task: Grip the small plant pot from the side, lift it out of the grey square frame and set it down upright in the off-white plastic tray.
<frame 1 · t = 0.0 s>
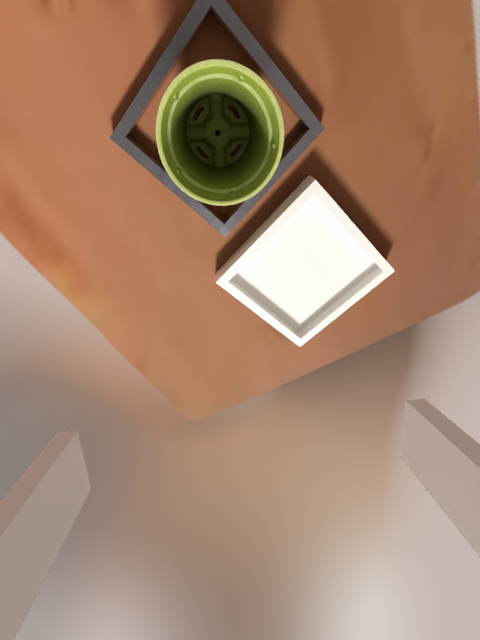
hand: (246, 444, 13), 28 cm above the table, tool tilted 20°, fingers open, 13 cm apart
tray: (301, 267, 40), on the table
grey square frame: (218, 131, 31), on the table
plant pot: (218, 131, 31), resting in grey square frame
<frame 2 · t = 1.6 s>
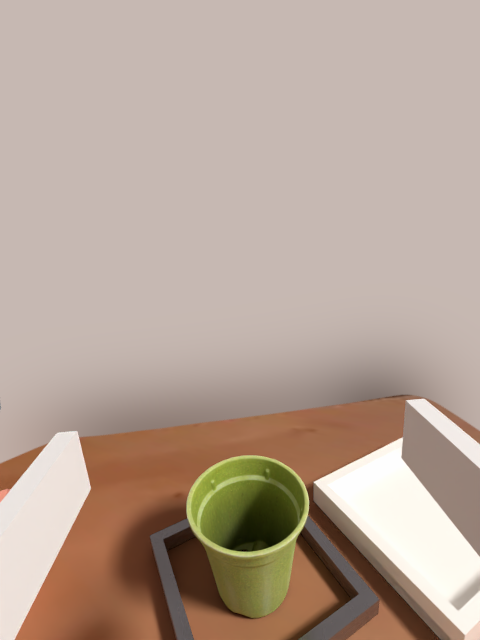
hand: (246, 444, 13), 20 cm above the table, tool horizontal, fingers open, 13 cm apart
tray: (424, 523, 31), on the table
grey square frame: (252, 577, 27), on the table
plant pot: (252, 579, 27), resting in grey square frame
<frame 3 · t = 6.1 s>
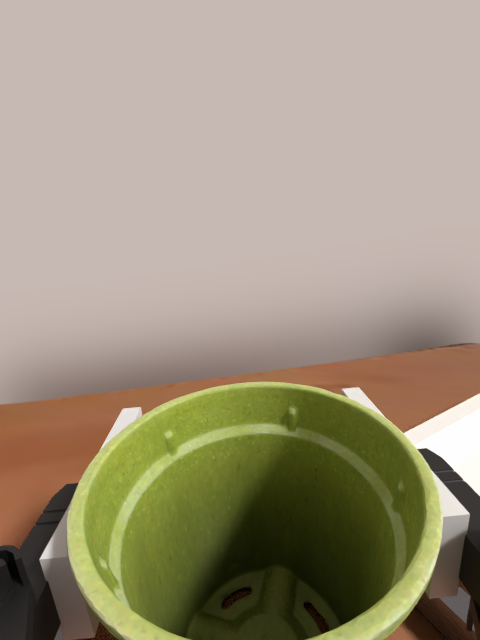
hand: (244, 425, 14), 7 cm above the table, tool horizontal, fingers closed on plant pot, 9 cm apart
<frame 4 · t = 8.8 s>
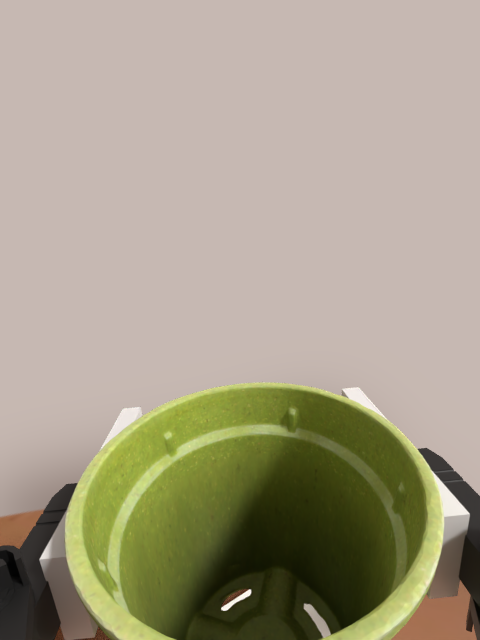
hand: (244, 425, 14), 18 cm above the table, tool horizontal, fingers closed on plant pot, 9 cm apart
when the fingers open (9 cm above the table, at t = 11.5 s): plant pot drops 1 cm, resting on tray.
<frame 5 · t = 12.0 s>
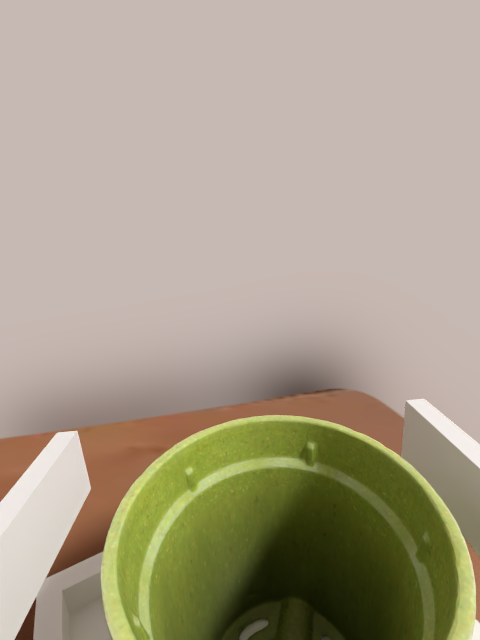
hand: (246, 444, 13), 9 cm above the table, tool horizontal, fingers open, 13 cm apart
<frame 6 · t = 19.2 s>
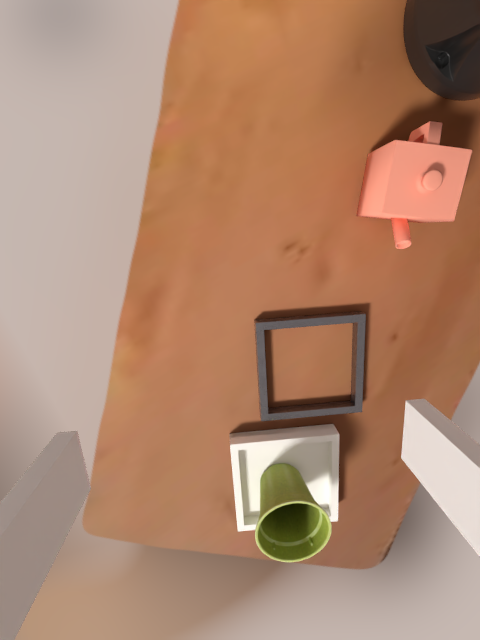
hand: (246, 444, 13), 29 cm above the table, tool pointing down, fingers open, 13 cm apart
pink cube teapot: (388, 195, 39), on the table
tray: (283, 472, 48), on the table
grey square frame: (308, 365, 44), on the table
plant pot: (280, 478, 47), point 1 cm above the table, touching tray
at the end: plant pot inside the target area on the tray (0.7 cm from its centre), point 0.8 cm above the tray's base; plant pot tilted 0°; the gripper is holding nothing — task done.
